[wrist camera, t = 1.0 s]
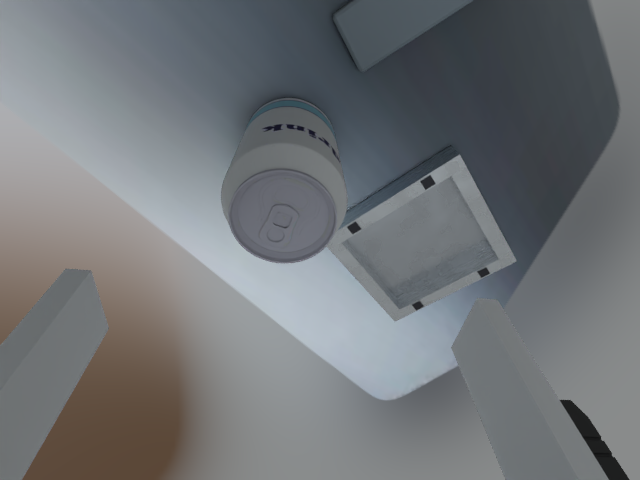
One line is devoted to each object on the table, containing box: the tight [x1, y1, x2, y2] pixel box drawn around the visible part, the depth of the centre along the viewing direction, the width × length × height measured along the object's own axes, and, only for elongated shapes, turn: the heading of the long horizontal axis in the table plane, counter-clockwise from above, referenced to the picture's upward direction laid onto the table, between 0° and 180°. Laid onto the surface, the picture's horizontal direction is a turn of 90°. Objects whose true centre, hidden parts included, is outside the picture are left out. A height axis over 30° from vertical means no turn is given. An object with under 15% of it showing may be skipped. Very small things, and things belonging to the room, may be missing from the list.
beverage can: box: [221, 98, 347, 263], centre depth 23 cm, size 7×7×12 cm
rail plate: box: [327, 145, 516, 321], centre depth 33 cm, size 13×13×2 cm
